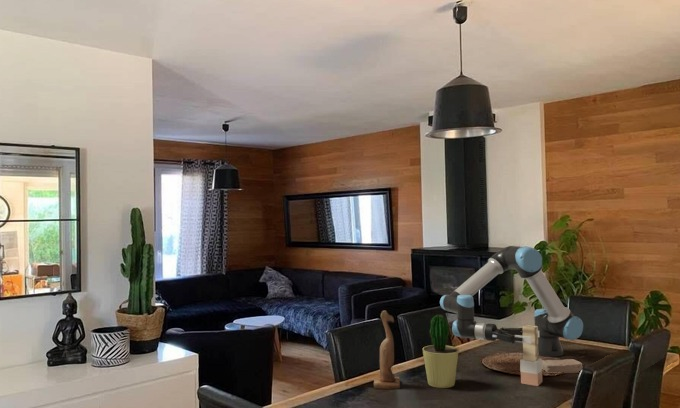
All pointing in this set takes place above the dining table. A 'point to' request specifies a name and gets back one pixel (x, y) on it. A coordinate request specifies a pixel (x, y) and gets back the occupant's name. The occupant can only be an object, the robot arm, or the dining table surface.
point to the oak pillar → (531, 349)
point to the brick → (562, 366)
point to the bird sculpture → (386, 358)
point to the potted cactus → (440, 356)
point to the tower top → (531, 366)
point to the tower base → (531, 378)
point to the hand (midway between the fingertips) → (535, 337)
